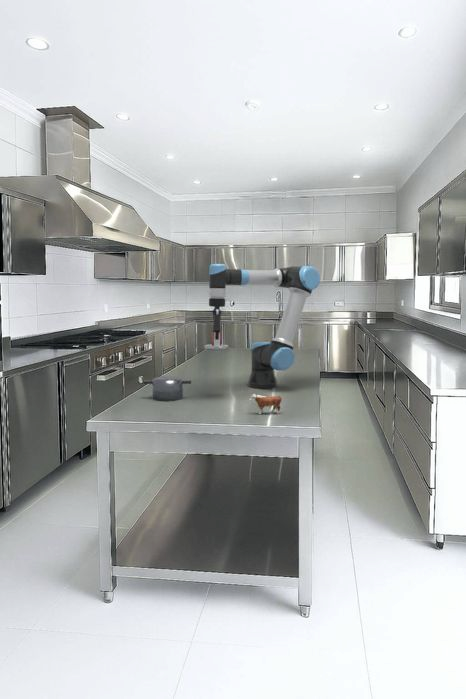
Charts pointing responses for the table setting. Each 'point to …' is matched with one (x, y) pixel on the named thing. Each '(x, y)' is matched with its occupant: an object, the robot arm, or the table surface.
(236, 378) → the table surface
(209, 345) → the lid
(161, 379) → the pot
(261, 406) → the bull figurine
